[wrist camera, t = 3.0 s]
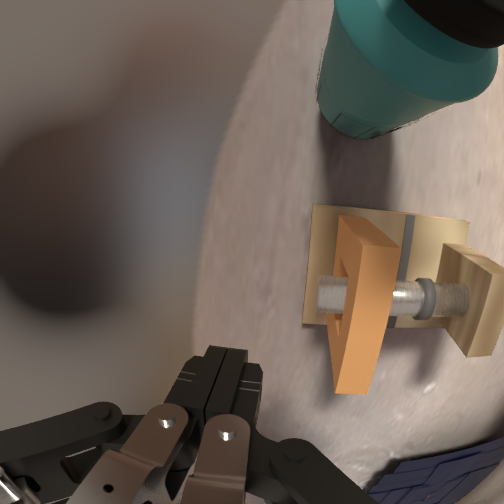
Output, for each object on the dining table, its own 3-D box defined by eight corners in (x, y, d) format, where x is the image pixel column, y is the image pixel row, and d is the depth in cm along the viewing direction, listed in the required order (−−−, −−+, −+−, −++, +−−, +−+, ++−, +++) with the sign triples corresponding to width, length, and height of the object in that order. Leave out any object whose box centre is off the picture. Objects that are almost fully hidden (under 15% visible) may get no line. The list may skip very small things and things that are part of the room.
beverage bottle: (356, 158, 22) (540, 147, 3) (295, 100, 22) (274, -90, 3) (407, 107, 20) (596, 27, 1) (348, 50, 20) (423, -135, 1)
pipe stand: (302, 317, 27) (301, 382, 18) (312, 203, 24) (320, 225, 15) (441, 322, 25) (481, 377, 16) (464, 220, 22) (524, 246, 13)
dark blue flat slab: (524, 413, 25) (532, 430, 22) (449, 496, 36) (451, 509, 33) (384, 446, 29) (387, 470, 25) (341, 515, 40) (341, 529, 37)
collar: (326, 322, 25) (335, 393, 16) (339, 215, 22) (362, 245, 14) (349, 323, 25) (366, 393, 16) (364, 217, 22) (401, 248, 13)
